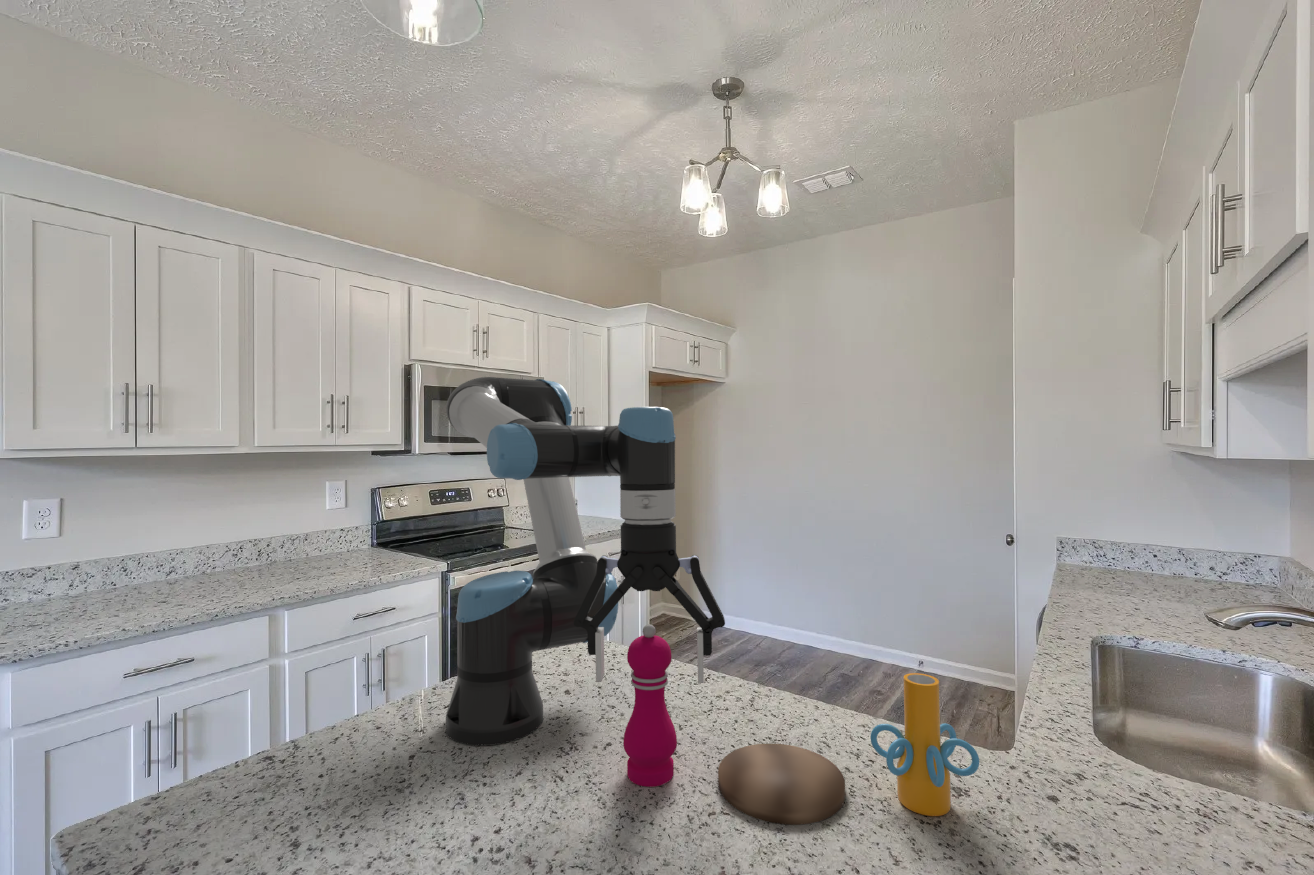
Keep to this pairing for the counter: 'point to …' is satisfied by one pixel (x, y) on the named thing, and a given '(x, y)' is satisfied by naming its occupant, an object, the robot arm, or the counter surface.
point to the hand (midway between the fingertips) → (650, 679)
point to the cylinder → (923, 750)
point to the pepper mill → (649, 713)
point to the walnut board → (781, 784)
